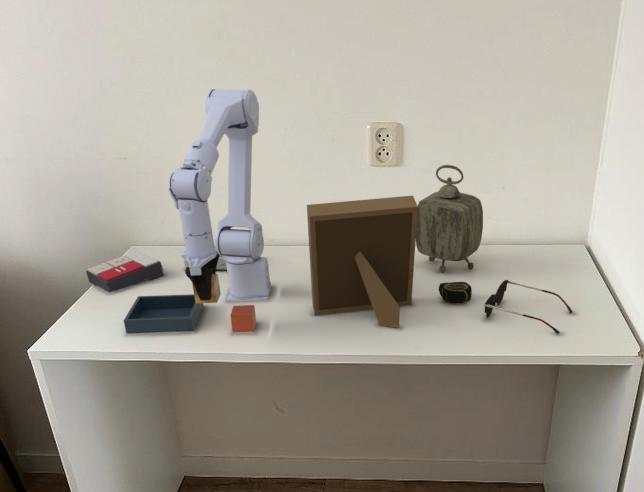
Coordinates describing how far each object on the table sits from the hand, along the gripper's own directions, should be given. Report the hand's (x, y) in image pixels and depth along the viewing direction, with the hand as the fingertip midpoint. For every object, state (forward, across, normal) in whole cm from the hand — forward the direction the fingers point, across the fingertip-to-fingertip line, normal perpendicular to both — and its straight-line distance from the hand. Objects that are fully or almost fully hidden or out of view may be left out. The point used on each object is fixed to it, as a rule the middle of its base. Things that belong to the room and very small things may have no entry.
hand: (207, 294), depth 153 cm
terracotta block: (+8, 0, +7) cm, 11 cm away
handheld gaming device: (+8, -37, -5) cm, 38 cm away
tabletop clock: (+8, -29, +53) cm, 61 cm away
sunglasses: (+8, -1, +68) cm, 68 cm away
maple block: (+1, 0, 0) cm, 1 cm away
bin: (+8, -4, -11) cm, 14 cm away
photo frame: (+8, -4, +33) cm, 34 cm away
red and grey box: (+8, -29, -27) cm, 40 cm away
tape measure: (+8, -11, +53) cm, 55 cm away
